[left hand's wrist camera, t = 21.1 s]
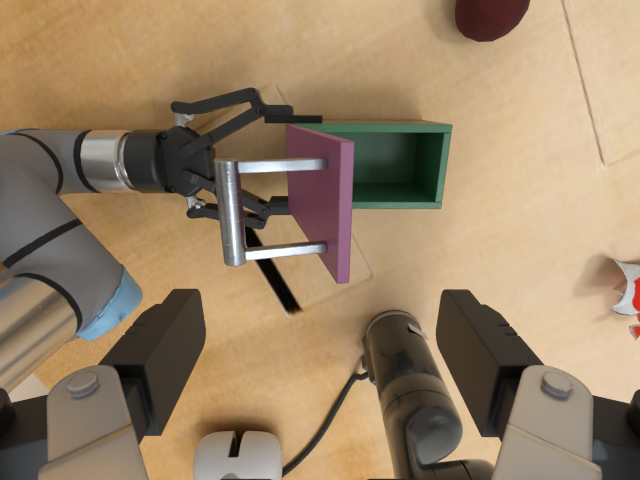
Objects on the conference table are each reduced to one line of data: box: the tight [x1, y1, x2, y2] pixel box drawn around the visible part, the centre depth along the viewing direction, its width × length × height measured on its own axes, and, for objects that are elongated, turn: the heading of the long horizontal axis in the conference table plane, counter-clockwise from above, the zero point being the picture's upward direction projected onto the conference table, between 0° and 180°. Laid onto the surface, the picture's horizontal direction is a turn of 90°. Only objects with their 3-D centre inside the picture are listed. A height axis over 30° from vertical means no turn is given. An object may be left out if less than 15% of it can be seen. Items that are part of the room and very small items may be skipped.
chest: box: [291, 120, 452, 209], centre depth 43 cm, size 17×9×11 cm, turn 90°
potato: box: [455, 0, 530, 42], centre depth 38 cm, size 7×8×7 cm
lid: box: [213, 125, 354, 284], centre depth 28 cm, size 18×9×8 cm
